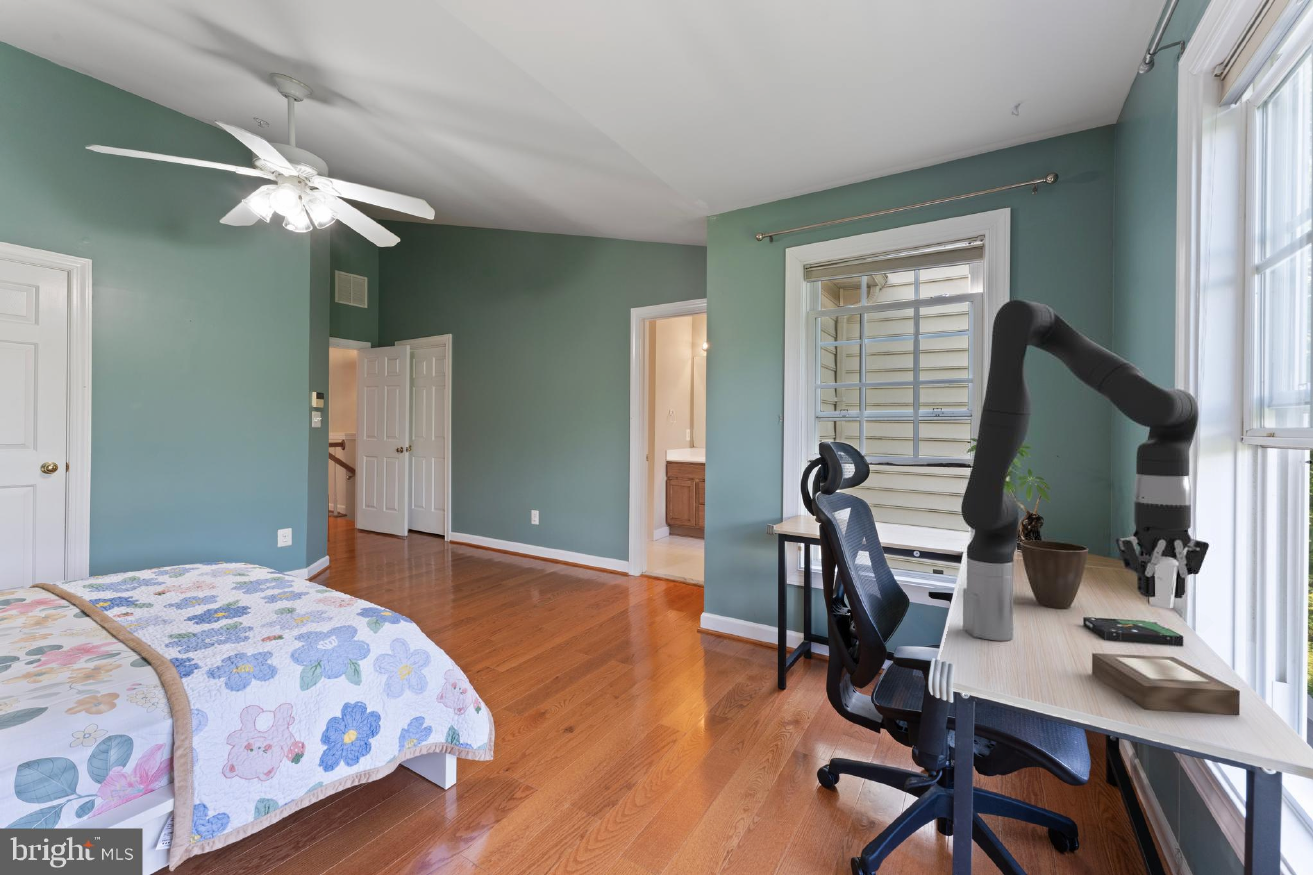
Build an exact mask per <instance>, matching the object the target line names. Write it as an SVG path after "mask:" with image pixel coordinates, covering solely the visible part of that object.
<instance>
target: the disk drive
mask: <svg viewBox="0 0 1313 875" xmlns="http://www.w3.org/2000/svg"><path fill="white" fill-rule="evenodd" d="M1082 618H1083V619H1082V621H1083V627H1085V628H1086V629H1088V630H1089V631H1091V632H1092V633H1094V634H1095V635H1097V636H1099V637H1100V638H1102V639H1103V640H1104V641H1107V642H1108V641H1109V642H1119V643H1122V642H1123V643H1135V644H1138V643H1139V644H1148V645H1149V644H1150V645H1160V646H1161V645H1162V646H1163V645H1164V646H1176V647H1184V643H1185V642H1184V636H1183V635H1181V634H1179V633H1177V632H1176V631H1174V630H1173V629H1171V628H1167V627H1164V626H1162V625H1161V624H1158V622H1156V621H1146V620H1143V619H1142V620H1137V619H1135V620H1134V619H1124V618H1123V619H1122V618H1120V619H1119V618H1106V617H1092V616H1091V617H1089V616H1083V617H1082Z"/></svg>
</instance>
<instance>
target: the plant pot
mask: <svg viewBox="0 0 1313 875" xmlns="http://www.w3.org/2000/svg"><path fill="white" fill-rule="evenodd" d="M1020 551H1021V556H1022V561H1023V566H1024V569H1025V574H1026V577H1027V580H1028V583H1029V586H1030V589H1031V592H1032V593H1033V596H1034V598H1035V600H1036V603H1037V604H1039V605H1040V606H1044V607H1047V608H1053V609H1063V610H1064V609H1070V608H1071V606H1072V604H1073V603H1074V600H1075V598H1076V596H1077V594H1078V591H1079V589H1080V585H1081V582H1082V581H1083V580H1082V579H1083V576H1084V573H1085V569H1086V564H1087V560H1088V553H1089V548H1088V547H1086V546H1084V545H1082V544H1080V545H1079V544H1075V543H1069V542H1061V541H1051V540H1023V541H1020Z"/></svg>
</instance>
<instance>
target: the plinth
mask: <svg viewBox="0 0 1313 875" xmlns="http://www.w3.org/2000/svg"><path fill="white" fill-rule="evenodd" d="M1091 674H1092V675H1093V676H1095V678H1097V679H1098V680H1100V681H1102V682H1104V683H1105V684H1106V685H1108V686H1109V687H1111V688H1112V689H1114V690H1115V691H1117V692H1118V693H1120V694H1122V696H1125V697H1126V698H1127V699H1129V700H1130V701H1132V703H1133V702H1134V704H1137V705H1138V706H1140V707H1141V708H1142V709H1144V710H1145V711H1146V710H1147V711H1164V712H1165V711H1166V712H1183V713H1184V712H1185V713H1198V714H1199V713H1200V714H1213V715H1214V714H1215V715H1217V714H1219V715H1234V716H1240V708H1241V707H1240V704H1241V703H1240V698H1241V696H1240V695H1241V691H1240V690H1239V689H1237V688H1235V687H1233V686H1231V685H1229V684H1227V683H1226V682H1224V681H1221V680H1219V679H1217V678H1216V677H1214V676H1212V675H1209V674H1208V673H1206V672H1204V671H1202V670H1200V669H1199V668H1196V667H1194V666H1192V665H1190V664H1188V663H1186V662H1185V661H1182V660H1180V659H1178V658H1176V657H1174V656H1163V655H1162V656H1161V655H1160V656H1159V655H1144V654H1143V655H1140V654H1139V655H1138V654H1122V653H1121V654H1120V653H1117V654H1116V653H1100V652H1099V653H1098V652H1095V653H1094V652H1092V653H1091Z"/></svg>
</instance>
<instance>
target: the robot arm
mask: <svg viewBox="0 0 1313 875" xmlns="http://www.w3.org/2000/svg"><path fill="white" fill-rule="evenodd" d="M991 332H992V333H991V345H990V346H991V349H990V362H989V370H988V377H987V383H986V388H985V395H984V401H983V405H982V409H981V415H980V420H979V426H978V435H977V438H976V439H977V440H976V443H975V444H976V445H975V451H974V455H973V456H974V458H973V462H972V466H971V471H970V475H969V478H968V480H967V484H966V487H965V490H964V491H965V492H964V495H963V497H962V502H961V506H960V508H961V510H960V511H961V516H962V519H963V521H964V522H965V524H966V525H967V526H968V528H971V529H973V530H974V534H973V537H972V539H971V541H970V542H969V543H968V545H967V546H966V587H963V590H962V629H964V631H966V632H967V633H968V634H970V636H971V637H972V638H979V639H984V640H991V641H999V642H1001V641H1010V640H1012V639H1013V638H1014V555H1015V552H1016V549H1017V546H1018V541H1019V538H1018V536H1019V506H1018V503H1017V501H1016V499H1015V498H1014V497H1013V495H1012V494H1010V493H1009V492H1007V491H1005V485H1006V482H1007V481H1006V480H1007V478H1008V474H1009V470H1010V468H1011V466H1012V464H1013V462H1014V461H1015V459H1016V456H1017V455H1018V453H1019V452H1020V450H1021V448H1022V446H1023V444H1024V442H1025V440H1026V437H1027V434H1028V433H1027V432H1028V429H1029V424H1030V419H1031V413H1032V399H1031V393H1030V391H1029V388H1028V383H1027V379H1026V375H1025V360H1026V354H1027V349H1028V346H1032V347H1034V348H1037V349H1039V350H1042V351H1044V352H1047V353H1049V354H1051V355H1053V356H1054V357H1056V358H1057V359H1059V361H1061V362H1062V363H1063V364H1064V365H1065V366H1066V367H1067V368H1068V370H1069V371H1071V373H1072V374H1073V375H1074V376H1075V377H1077V379H1078V380H1080V381H1081V382H1083V383H1084V384H1085V385H1086V386H1088V387H1089V388H1091V389H1093V390H1095V391H1096V392H1097V393H1099V394H1101V395H1102V396H1103V397H1105V398H1107V399H1109V401H1110V402H1111V403H1112V404H1113V406H1115V407H1116V408H1117V410H1118V411H1120V412H1121V413H1122V414H1123V415H1124V416H1126V418H1128V419H1130V420H1131V421H1132V422H1134V423H1136V424H1138V425H1139V426H1142V427H1146V428H1149V431H1148V436H1147V440H1146V441H1145V442H1143V443H1140V444H1139V445H1138V446H1137V450H1136V456H1135V457H1136V464H1135V465H1136V467H1135V468H1136V469H1135V470H1136V471H1135V472H1136V475H1135V482H1134V490H1133V493H1134V494H1133V498H1134V499H1133V501H1134V502H1133V504H1134V505H1133V507H1134V508H1133V523H1134V526H1135V530H1134V532H1133V533H1132V535H1131V536H1129V537H1125V538H1123V537H1118V538H1116V539H1115V543H1116V545H1117V549H1118V551H1119V554H1120V558H1121V560H1122V563H1123V565H1124V566H1123V567H1124V568H1125V569H1126V570H1128V571H1131V572H1134V573H1135V574H1137V575H1136V576H1137V580H1136V581H1137V582H1136V583H1137V584H1136V585H1137V587H1136V589H1137V591H1138V592H1139V594H1140V595H1141V596H1143V597H1145V598H1148V597H1153V577H1151V576H1152V575H1153V572H1154V568H1155V565H1157V564H1158V563H1159V560H1160V557H1161V556H1164V557H1170V558H1175V559H1176V560H1177V561H1178V562H1179V567H1178V573H1177V579H1176V587H1175V595H1174V599H1183V596H1185V593H1186V578H1187V577H1188V576H1191V575H1198V574H1199V573H1200V571H1201V568H1202V566H1203V563H1204V561H1205V558H1206V555H1207V553H1208V550H1209V547H1210V544H1209V542H1207V541H1203V540H1198V539H1194V538H1192V536H1191V534H1190V533H1189V530H1190V529H1191V526H1192V487H1191V481H1190V449H1191V448H1192V447H1191V446H1192V444H1193V440H1194V437H1195V434H1196V430H1197V426H1198V421H1199V415H1200V414H1199V405H1198V402H1197V401H1196V399H1195V397H1194V396H1193V395H1192V394H1191V393H1190V392H1188V391H1185V390H1183V389H1180V388H1169V387H1167V388H1165V387H1161V386H1159V385H1157V384H1155V383H1153V382H1151V381H1149V380H1148V379H1146V376H1145V374H1144V372H1143V371H1142V370H1141V369H1140V368H1138V367H1137V366H1135V365H1134V364H1132V363H1131V362H1129V361H1127V360H1125V359H1124V358H1122V357H1120V356H1119V355H1117V354H1115V353H1114V352H1112V351H1111V350H1108V349H1106V348H1104V347H1103V346H1102V345H1099V344H1098V343H1097V342H1094V341H1092V340H1091V339H1089V338H1087V336H1085V335H1084V334H1082V333H1081V332H1079V331H1078V330H1077V329H1076V328H1074V327H1073V326H1072V325H1070V324H1069V323H1068V321H1066V320H1065V319H1064V318H1062V317H1061V315H1059V314H1058V313H1057V312H1056V311H1055V310H1053V309H1052V308H1051V307H1050V306H1048V305H1046V304H1044V303H1042V302H1041V303H1040V302H1036V301H1030V300H1024V299H1012V300H1009V301H1007V302H1005V303H1004V304H1003V305H1002V306H1001V307H1000V308H999V309H998V311H997V312H996V314H995V317H994V320H993V324H992V331H991ZM1137 546H1138V547H1139V551H1138V554H1137V552H1136V550H1137V548H1138V547H1137ZM1185 549H1187V550H1186V552H1185V553H1184V550H1185ZM1147 556H1150V558H1146V557H1147Z"/></svg>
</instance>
